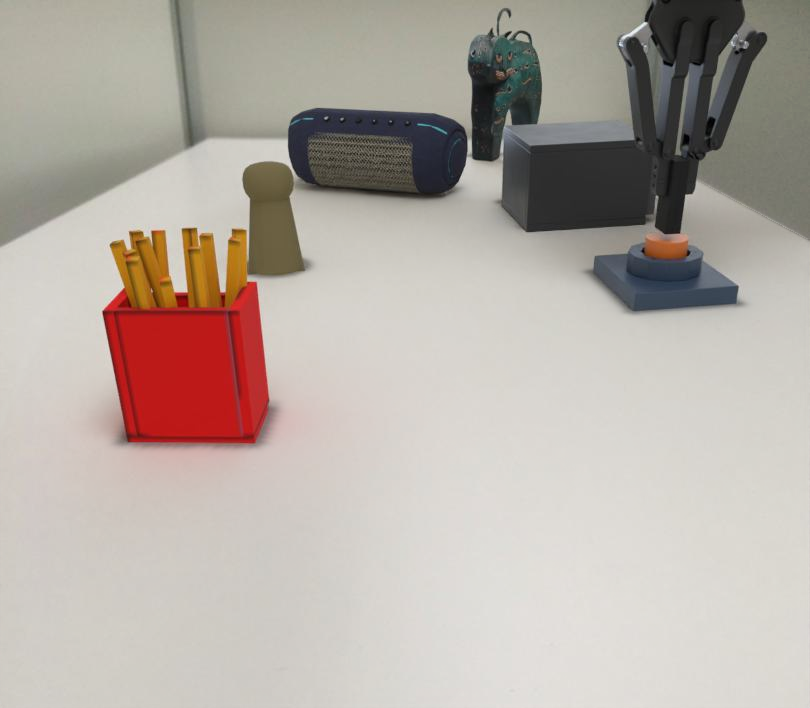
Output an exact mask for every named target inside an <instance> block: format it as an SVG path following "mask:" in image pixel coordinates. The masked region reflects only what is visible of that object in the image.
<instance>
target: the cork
mask: <svg viewBox="0 0 810 708" xmlns="http://www.w3.org/2000/svg"><path fill="white" fill-rule="evenodd" d="M294 178H295V177H294V175H293V171H292V169H291V167H290V166H289V165H287V164H286V163H284V162H279V161H274V160H273V161H272V160H271V161H270V160H268V161H266V160H265V161H259V162H255V163H252V164H249V165H248V166H246V167H245V168H244V170H243V172H242V178H241V181H242V188H243V190H244V192H245V193H244V194H245V195H246V196H247V197H248V198H249V219H248V221H249V223H248V267H247V274H248V275H249V276H250V275H251V276H252V275H259V276H283V275H289V274H293V273H297V272H305V271H306V269H305V265H304V259H303V255H302V250H301V245H300V239H299V235H298V231H297V226H296V222H295V221H296V220H295V215H294V211H293V207H292V203H291V202H292V201H291V198H290V196H291V194H292V193H293V192H294V186H295V179H294Z"/></svg>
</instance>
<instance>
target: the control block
mask: <svg viewBox="0 0 810 708" xmlns="http://www.w3.org/2000/svg"><path fill="white" fill-rule="evenodd" d="M644 250H645V241H644V242H640V243H638V244H634V245H631V246H630V248H629V249H628V251H627V253H617V254H616V253H615V254H601V255H600V254H599V255H594V259H593V270H592V273H593V274H594V275H595V276H596V277H597V278H598V279H599V280H600V281H601V282H602V283H604V285H605V286H606V287H608V288H609V289H610V291H612V292H613V293H614V294H615V295H616V296H617V297H618V298H619V299H620V301H622V302H623V303H624V304H625V305H626V306H627V307H628V308H629V309H630V310H631V311H632V312H643V311H645V312H647V311H657V310H659V311H661V310H671V309H672V310H673V309H684V308H697V307H712V306H724V305H725V306H726V305H736V304H737V301H738V294H739V288H740V286H739V284H737V283H735V282H734V281H732V280H731V279H730V278H729V277H727V276H725V275H724V274H723V273H722V272H720V271H718V270H717V269H716V268H714V267H713V266H712V265H710V264H709V263H707V262H706V261H705V260H704V250H701V249H700V248H698V247H697V246H695V245H691V244H688V250H687V256H686V257H683V258H675V259H664V258H654V257H650V256H647V255H645V254H644Z"/></svg>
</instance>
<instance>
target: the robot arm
mask: <svg viewBox="0 0 810 708" xmlns="http://www.w3.org/2000/svg"><path fill="white" fill-rule="evenodd" d="M745 19H746V10H745V6H744V3H743V0H651V1H650V4H649V6H648V9H646V11H645V14H644V18H643V23H641V24H640V25H638V26H637V27H635V29H633V30H632V31H631V32H630V33H628V34H626V33H622V34H620V35H618V37H617V39H616V43H615V44H616V46H617V49H618V51H619V53H620V55H621V57H622V59H623V61H624V63H625V69H626V70H625V71H626V78H627V87H628V96H629V105H630V112H631V113H630V114H631V121H632V128H633V131H634V140H635V146H636V147H637V148H638V149H640V150H642V151H644V152H645V153H647V154H651V155H652V156H653V159H654V161H653V170H652V179H651V191H652V193H653V194H655V195H656V197H657V202H656V203H657V204H656V210H655V211H656V212H655V220H654V228H656V229H657V230H658V231H659V232H662V233H664V234H665V235H667V234H680V233H681V230H682V225H683V224H682V223H683V218H684V208H685V201H686V196H687V195H693V194H694V192H695V190H696V186H697V185H696V184H697V180H698V179H697V176H698V171H699V164H700V161H703V160H704V159H705V158H706V156H707V153H709V152H713V151H719V150H720V149H721V148H722V147H723V145H724V142H725V138H726V136H727V133H728V130H729V128H730V125H731V122H732V121H733V120H732V119H733V117H734V114H735V112H736V109H737V105H738V103H739V101H740V97H741V95H742V93H743V90H744V87H745V83H746V81H747V78H748V76H749V73H750V71H751V68H752V65H753V62H754V61H755V59H756V58H757V57H758V55H759V54H760V52H761V51H762V49H763V48H764V47H765V45H767V44H766V43H767V42H768V35H767V33H766V32H764V31H761V30H756V29H755V28H754V27H753V26H752V25H750V23H748V22H747V21H746V20H745ZM650 39H651V41H652V42H653V44H654V46H655V49H656V50H657V53H658V54H659V56H660V66H659V71H660V85H659V93H658V102H657V109H656V116H655V110H654V109H655V108H654V98H653V90H652V80H651V71H650V70H651V69H650V63H649V60H648V57H647V54H649V52H650V49H651V47H650ZM729 43H730V44H731V50H730V52H729V54H728V57H727V58H726V61H725V64H724V67H723V70H722V73H721V75H720V78H719V80H718V84H717V87H716V89H715V92H714V95H713V98H712V101H711V96H712V88H713V82H714V77H715V76H716V74H717V71H718V64H719V57H720V56H721V54H722V53H723V52H724V50H725V49H726V47H727V46H728V45H729ZM687 77H688V78H687ZM686 78H687V79H688V80H687V85H686V86H687V88H686V94H685V95H686V96H685V103H684V110H683V119H682V126H681V135H680V143H679V151H680V154H676V152H677V143H678V137H679V129H680V122H681V121H680V120H681V115H682V114H681V113H682V105H683V98H684V89H685V82H686ZM710 103H711V104H710ZM655 117H656V118H655Z"/></svg>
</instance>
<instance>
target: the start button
mask: <svg viewBox="0 0 810 708" xmlns="http://www.w3.org/2000/svg"><path fill="white" fill-rule="evenodd" d="M644 242H645V250H644V254H645V255H647V256H650V257H654V258H664V259H675V258H683V257H686V256H687V250H688V245H689V242H690V237H689V236H688V235H686V234H684V233H681V232H680V234H667V235H665V234H664V233H662V232H661V231H653V232H650V233H647V234H646V236H645V241H644Z"/></svg>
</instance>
